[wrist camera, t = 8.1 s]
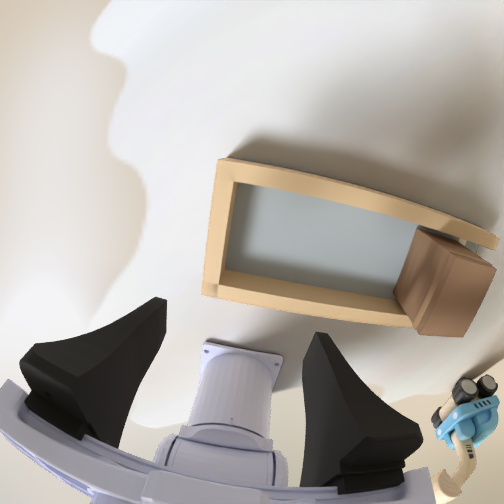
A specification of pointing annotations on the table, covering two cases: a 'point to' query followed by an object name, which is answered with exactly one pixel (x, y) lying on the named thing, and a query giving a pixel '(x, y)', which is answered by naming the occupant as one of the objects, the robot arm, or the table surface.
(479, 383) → the toy excavator
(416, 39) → the table surface
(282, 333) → the table surface
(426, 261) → the box
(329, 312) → the bay
